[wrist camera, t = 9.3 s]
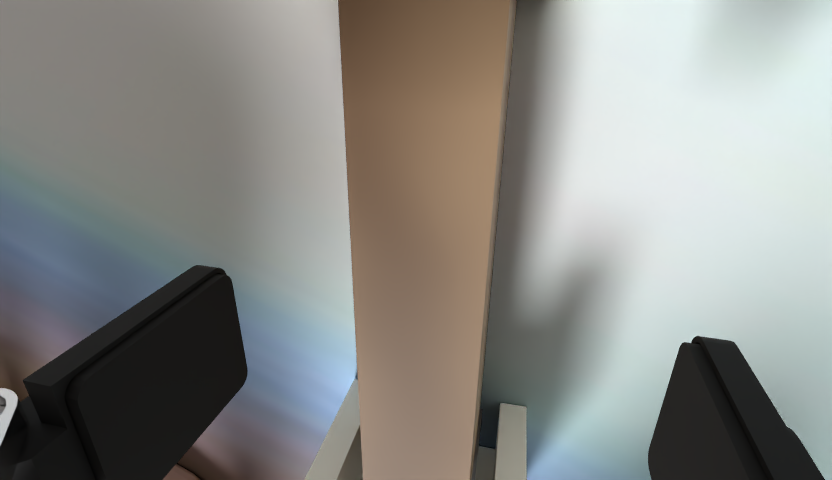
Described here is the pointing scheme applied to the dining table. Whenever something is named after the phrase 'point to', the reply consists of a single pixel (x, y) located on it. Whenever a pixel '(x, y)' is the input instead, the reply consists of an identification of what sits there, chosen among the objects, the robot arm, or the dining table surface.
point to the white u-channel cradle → (496, 468)
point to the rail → (423, 221)
